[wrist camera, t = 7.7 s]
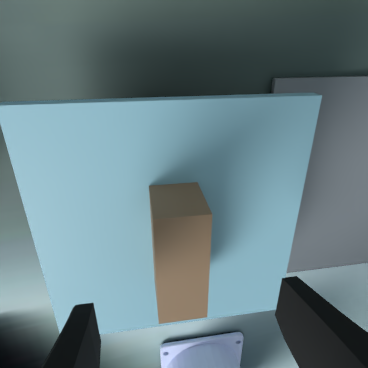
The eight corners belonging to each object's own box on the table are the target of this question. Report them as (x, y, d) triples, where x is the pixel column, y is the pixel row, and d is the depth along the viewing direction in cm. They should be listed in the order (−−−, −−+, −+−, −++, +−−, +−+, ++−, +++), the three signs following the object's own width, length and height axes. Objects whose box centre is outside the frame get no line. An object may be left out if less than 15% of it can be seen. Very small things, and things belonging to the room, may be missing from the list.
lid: (273, 299, 20) (301, 351, 17) (64, 328, 18) (49, 392, 15) (312, 92, 14) (368, 109, 11) (3, 101, 12) (-46, 125, 9)
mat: (411, 253, 28) (414, 256, 27) (248, 274, 25) (250, 277, 25) (489, 72, 20) (495, 73, 20) (272, 78, 18) (275, 78, 18)
